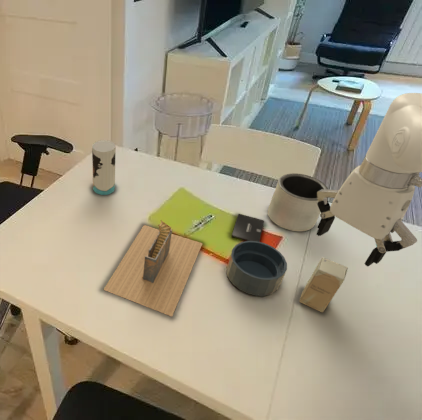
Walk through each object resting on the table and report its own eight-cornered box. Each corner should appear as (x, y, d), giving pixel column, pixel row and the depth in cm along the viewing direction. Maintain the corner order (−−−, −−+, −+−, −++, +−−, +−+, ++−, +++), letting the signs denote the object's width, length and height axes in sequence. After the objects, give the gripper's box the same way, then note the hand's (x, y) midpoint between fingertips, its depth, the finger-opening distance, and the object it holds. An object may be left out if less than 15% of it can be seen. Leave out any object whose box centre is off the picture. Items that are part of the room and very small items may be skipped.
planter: (297, 202, 110) (311, 170, 103) (324, 230, 101) (340, 197, 94) (258, 206, 109) (269, 175, 102) (281, 235, 99) (294, 202, 92)
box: (298, 302, 82) (316, 268, 75) (303, 289, 85) (320, 255, 78) (324, 313, 80) (345, 279, 73) (328, 300, 83) (348, 266, 76)
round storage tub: (290, 283, 87) (298, 265, 83) (255, 305, 82) (262, 288, 78) (249, 251, 94) (255, 234, 91) (215, 270, 89) (220, 253, 86)
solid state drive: (263, 222, 103) (264, 220, 103) (258, 245, 96) (259, 243, 96) (237, 215, 105) (238, 213, 105) (231, 237, 98) (231, 235, 98)
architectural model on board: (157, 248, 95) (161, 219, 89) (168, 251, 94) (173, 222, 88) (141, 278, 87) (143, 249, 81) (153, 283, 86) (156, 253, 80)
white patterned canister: (115, 182, 118) (115, 140, 109) (114, 195, 113) (115, 152, 104) (93, 182, 118) (92, 139, 109) (92, 194, 113) (91, 151, 104)
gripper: (457, 190, 57) (402, 267, 67) (348, 144, 68) (316, 216, 79) (434, 205, 54) (380, 284, 64) (324, 155, 65) (293, 229, 76)
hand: (345, 247), depth 72 cm, fingers open, 9 cm apart
